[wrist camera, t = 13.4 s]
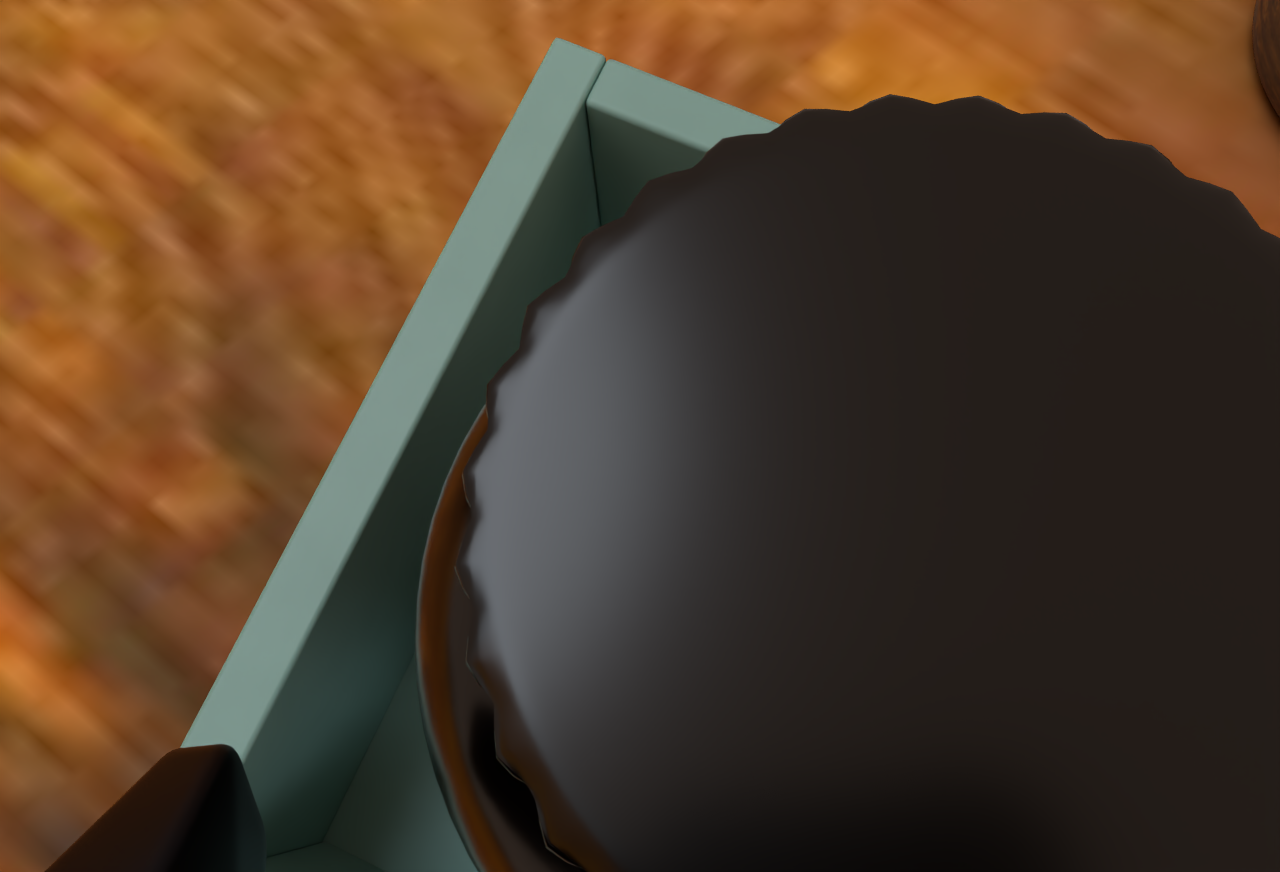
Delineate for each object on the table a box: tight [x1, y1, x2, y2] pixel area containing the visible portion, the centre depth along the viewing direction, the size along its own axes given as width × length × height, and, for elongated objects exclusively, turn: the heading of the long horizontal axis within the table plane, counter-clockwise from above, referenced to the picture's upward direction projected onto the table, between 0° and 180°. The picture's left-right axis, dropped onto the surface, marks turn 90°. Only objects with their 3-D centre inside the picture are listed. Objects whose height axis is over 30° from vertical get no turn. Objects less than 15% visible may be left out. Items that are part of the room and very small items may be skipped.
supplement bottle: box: [414, 94, 1280, 872], centre depth 11 cm, size 7×7×12 cm
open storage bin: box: [180, 38, 780, 872], centre depth 15 cm, size 11×11×6 cm
